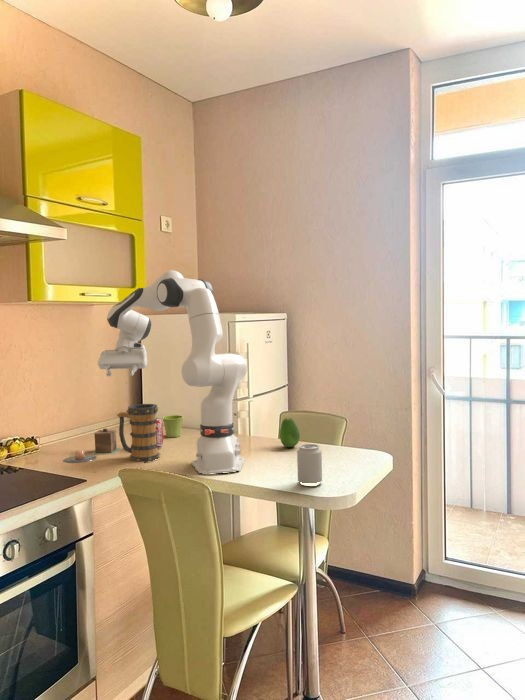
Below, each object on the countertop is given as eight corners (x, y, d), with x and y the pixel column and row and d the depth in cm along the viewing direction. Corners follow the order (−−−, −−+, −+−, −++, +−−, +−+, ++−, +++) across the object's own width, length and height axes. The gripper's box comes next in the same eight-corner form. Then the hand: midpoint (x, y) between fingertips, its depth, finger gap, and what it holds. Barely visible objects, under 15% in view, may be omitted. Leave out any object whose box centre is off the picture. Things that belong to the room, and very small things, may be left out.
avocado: (276, 447, 220) (275, 417, 220) (290, 444, 225) (289, 415, 225) (289, 451, 214) (288, 420, 213) (304, 447, 219) (303, 417, 218)
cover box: (101, 449, 225) (100, 427, 224) (116, 449, 224) (115, 427, 224) (95, 453, 218) (94, 430, 218) (111, 453, 218) (110, 430, 217)
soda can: (165, 446, 229) (164, 417, 228) (160, 450, 222) (159, 420, 221) (148, 446, 230) (147, 417, 229) (143, 450, 223) (142, 420, 222)
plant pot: (188, 435, 250) (187, 416, 249) (174, 439, 242) (173, 419, 241) (172, 433, 254) (171, 414, 254) (158, 437, 247) (157, 418, 246)
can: (320, 480, 175) (319, 442, 174) (324, 487, 167) (323, 447, 167) (296, 481, 174) (295, 443, 174) (299, 488, 167) (298, 448, 166)
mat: (114, 455, 216) (114, 454, 216) (89, 455, 217) (89, 454, 217) (122, 449, 226) (122, 448, 226) (98, 449, 227) (98, 448, 227)
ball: (83, 459, 208) (83, 451, 208) (74, 460, 208) (73, 452, 208) (85, 457, 212) (85, 449, 212) (76, 458, 211) (75, 450, 211)
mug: (153, 464, 201) (150, 409, 200) (110, 462, 205) (107, 408, 204) (167, 455, 213) (165, 403, 212) (127, 453, 217) (125, 403, 216)
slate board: (93, 463, 205) (93, 461, 205) (59, 465, 203) (59, 463, 203) (99, 455, 217) (99, 454, 217) (67, 457, 215) (67, 456, 215)
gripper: (99, 345, 236) (92, 370, 227) (147, 344, 235) (142, 369, 226) (103, 355, 241) (96, 380, 232) (150, 354, 239) (145, 379, 230)
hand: (119, 375), depth 229 cm, fingers open, 8 cm apart
